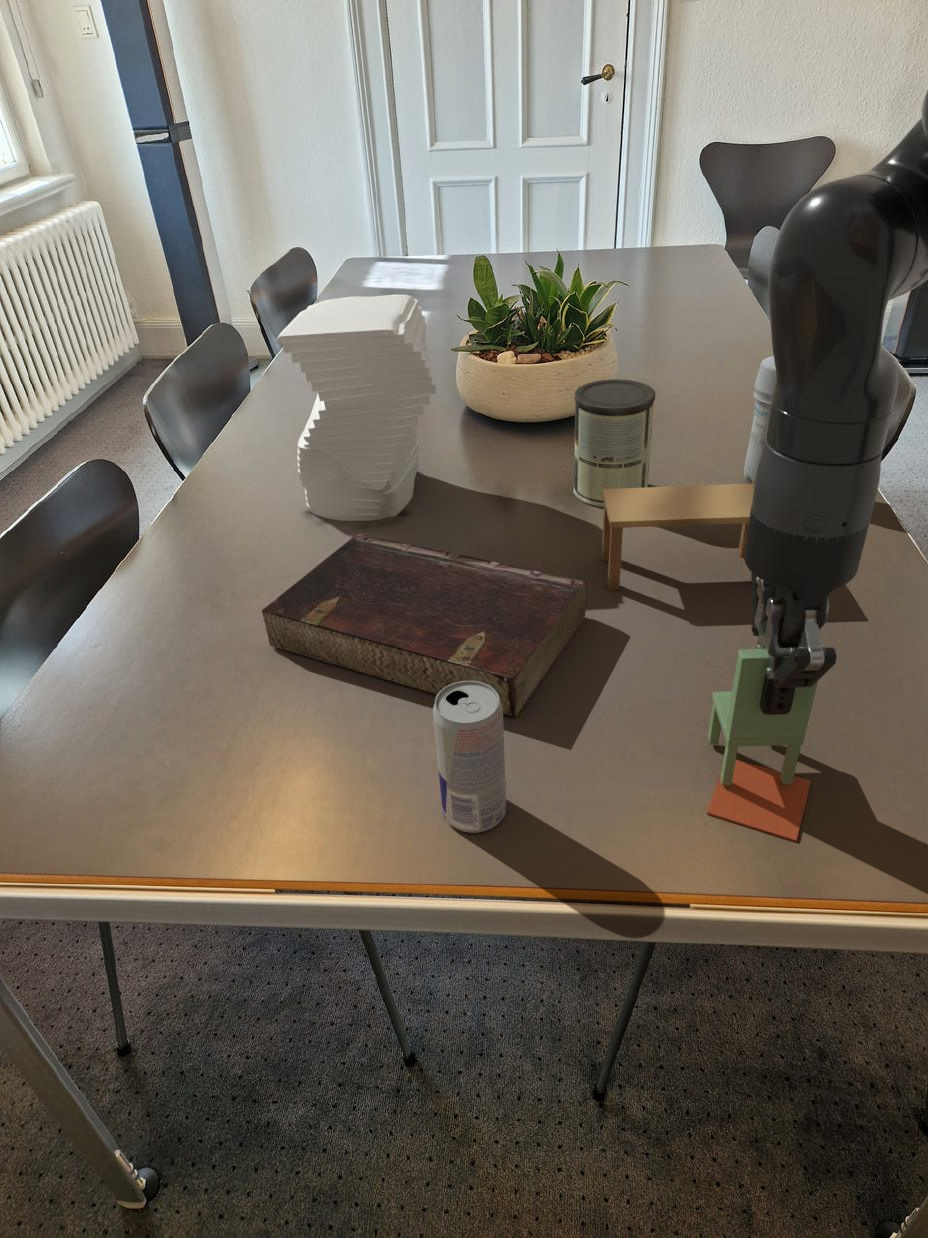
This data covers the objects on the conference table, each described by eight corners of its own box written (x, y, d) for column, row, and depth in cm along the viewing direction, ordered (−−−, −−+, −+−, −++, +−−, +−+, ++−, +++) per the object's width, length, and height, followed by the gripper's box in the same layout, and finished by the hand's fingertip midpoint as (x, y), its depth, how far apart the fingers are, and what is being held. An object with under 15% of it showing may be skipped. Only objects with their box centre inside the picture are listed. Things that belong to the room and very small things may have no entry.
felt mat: (810, 782, 72) (811, 780, 71) (796, 842, 67) (796, 840, 66) (726, 758, 74) (727, 757, 74) (706, 814, 69) (706, 812, 69)
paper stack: (280, 531, 113) (241, 337, 99) (345, 448, 135) (320, 279, 120) (433, 540, 109) (416, 339, 94) (475, 453, 130) (466, 278, 116)
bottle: (731, 483, 117) (751, 337, 106) (758, 467, 121) (780, 325, 110) (774, 498, 113) (800, 348, 102) (801, 481, 117) (829, 334, 105)
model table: (749, 550, 103) (760, 482, 98) (767, 586, 96) (779, 515, 91) (599, 555, 104) (602, 488, 99) (607, 591, 97) (610, 521, 92)
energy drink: (474, 777, 74) (467, 670, 67) (519, 809, 71) (517, 699, 64) (429, 812, 71) (417, 702, 64) (474, 846, 68) (466, 735, 61)
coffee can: (561, 482, 121) (562, 386, 113) (627, 470, 123) (632, 374, 115) (591, 514, 112) (595, 412, 104) (661, 499, 115) (670, 398, 107)
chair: (774, 736, 76) (800, 610, 68) (793, 785, 71) (824, 656, 63) (706, 737, 76) (724, 613, 68) (720, 787, 71) (742, 658, 63)
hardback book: (585, 615, 93) (586, 577, 91) (515, 720, 80) (514, 679, 77) (364, 564, 105) (359, 528, 102) (270, 648, 92) (261, 610, 89)
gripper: (908, 556, 51) (849, 764, 61) (834, 460, 62) (794, 650, 72) (781, 560, 51) (743, 766, 61) (730, 464, 62) (704, 652, 72)
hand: (770, 702), depth 67 cm, fingers closed
